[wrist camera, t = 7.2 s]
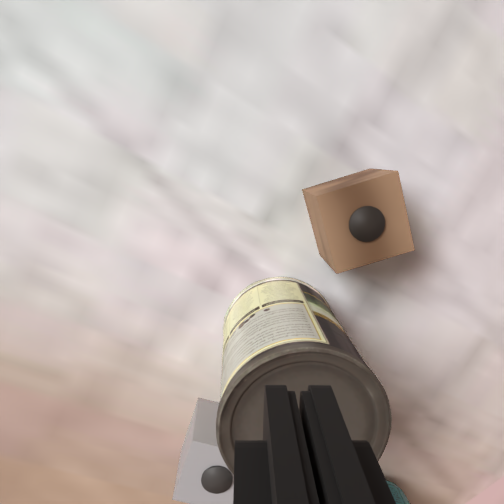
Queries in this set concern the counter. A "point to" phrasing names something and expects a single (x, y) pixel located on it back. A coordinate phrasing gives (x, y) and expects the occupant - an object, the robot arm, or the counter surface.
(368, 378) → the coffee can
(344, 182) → the walnut dotted block
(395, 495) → the beverage bottle
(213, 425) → the grey dotted block
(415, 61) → the counter surface
